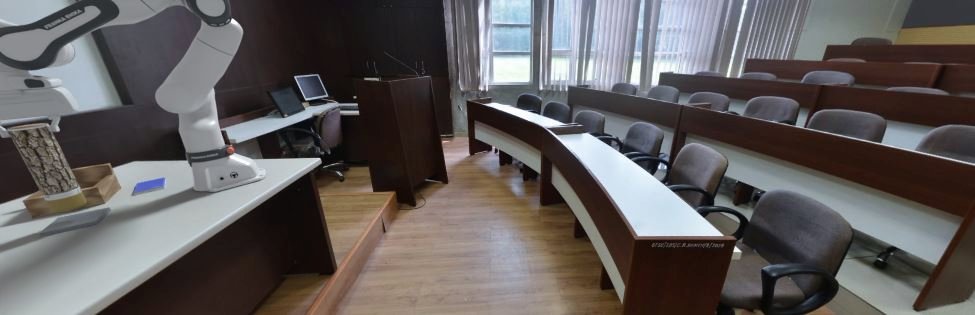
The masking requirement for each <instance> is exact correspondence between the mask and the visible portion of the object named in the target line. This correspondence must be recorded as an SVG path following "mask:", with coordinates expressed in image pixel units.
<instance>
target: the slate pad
mask: <svg viewBox="0 0 975 315" xmlns="http://www.w3.org/2000/svg"><path fill="white" fill-rule="evenodd" d="M110 211H111V208H110V206H108V207H104V208H99V209H94V210H88V211H84V212H79V213H74V214H70V215H64V216H60V217H57V218H56V219H55V220H53V221H52V222H51V223H50V224H48V225H47V226H46V227H45V228H43V229H42V230H41V231H40V232H38V235H39V237H46V236H49V235H54V234H58V233H62V232H63V233H64V232H66V231H67V232H68V231H72V230H77V229H81V228H85V227H90V226H94V225H98V224H99V223H100V221H102V220H103V219H104V217H105V216H107V214H108V213H110Z"/></svg>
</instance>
